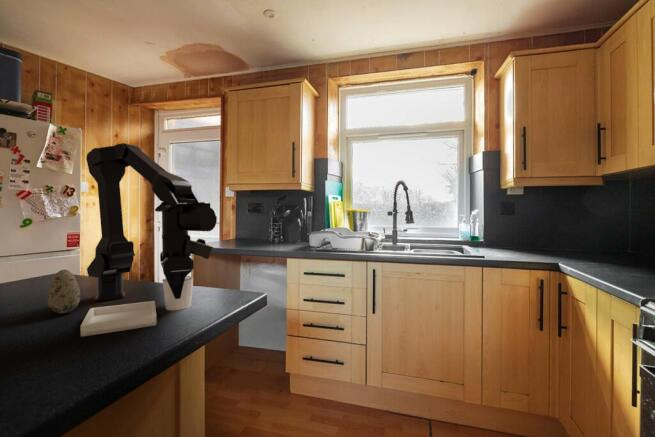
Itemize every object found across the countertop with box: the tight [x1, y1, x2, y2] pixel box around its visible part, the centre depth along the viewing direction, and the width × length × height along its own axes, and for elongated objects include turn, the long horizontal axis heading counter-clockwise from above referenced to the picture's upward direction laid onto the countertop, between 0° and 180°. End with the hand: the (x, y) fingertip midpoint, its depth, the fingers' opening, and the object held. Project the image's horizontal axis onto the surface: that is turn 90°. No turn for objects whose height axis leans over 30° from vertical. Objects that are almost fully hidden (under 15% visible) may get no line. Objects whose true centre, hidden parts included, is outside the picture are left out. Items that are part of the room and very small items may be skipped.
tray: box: [80, 300, 157, 337], centre depth 71 cm, size 13×13×2 cm
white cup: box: [162, 275, 194, 311], centre depth 81 cm, size 7×7×7 cm
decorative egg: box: [46, 269, 81, 314], centre depth 76 cm, size 6×6×10 cm
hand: (176, 294), depth 81 cm, fingers open, 9 cm apart
